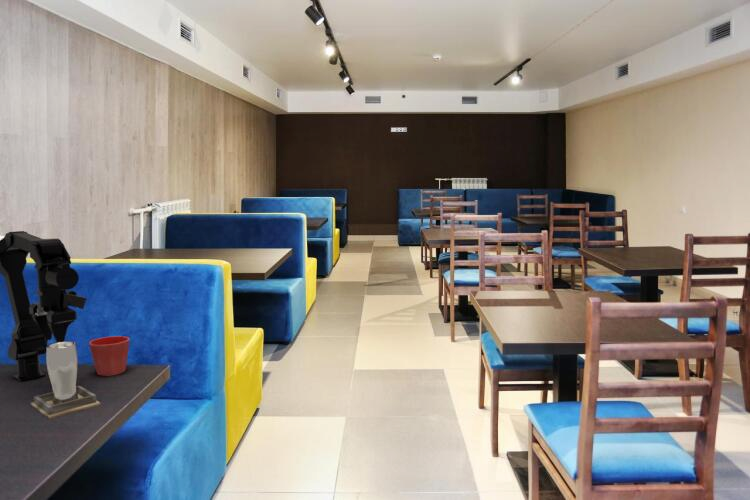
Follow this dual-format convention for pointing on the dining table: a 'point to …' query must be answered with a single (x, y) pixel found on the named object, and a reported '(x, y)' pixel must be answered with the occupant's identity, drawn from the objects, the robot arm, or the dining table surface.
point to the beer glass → (62, 371)
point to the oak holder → (65, 403)
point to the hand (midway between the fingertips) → (54, 342)
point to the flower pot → (110, 354)
